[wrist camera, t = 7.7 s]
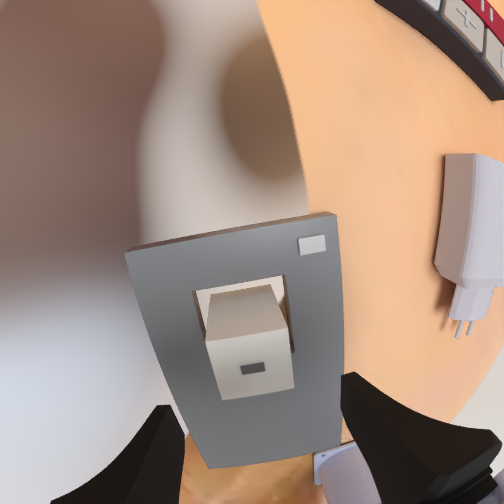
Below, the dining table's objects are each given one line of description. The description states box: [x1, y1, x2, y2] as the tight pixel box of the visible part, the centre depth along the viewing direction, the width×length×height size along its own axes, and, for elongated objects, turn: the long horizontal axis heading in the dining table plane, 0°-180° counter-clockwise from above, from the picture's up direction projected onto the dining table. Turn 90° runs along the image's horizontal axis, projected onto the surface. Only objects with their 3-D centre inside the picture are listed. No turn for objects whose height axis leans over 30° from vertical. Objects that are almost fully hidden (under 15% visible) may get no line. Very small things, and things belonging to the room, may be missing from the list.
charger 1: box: [205, 284, 294, 400], centre depth 17 cm, size 4×4×6 cm
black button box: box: [374, 0, 504, 101], centre depth 13 cm, size 11×4×15 cm
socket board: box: [124, 212, 344, 469], centre depth 20 cm, size 13×22×2 cm, turn 9°
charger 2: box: [434, 154, 504, 338], centre depth 18 cm, size 5×9×15 cm
